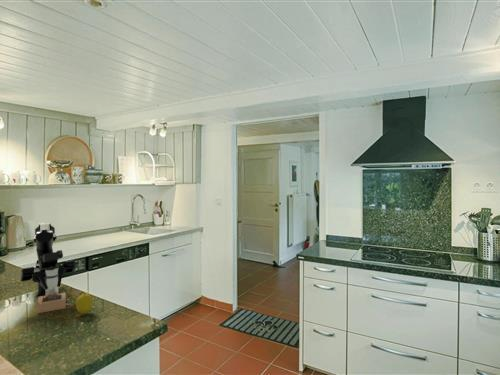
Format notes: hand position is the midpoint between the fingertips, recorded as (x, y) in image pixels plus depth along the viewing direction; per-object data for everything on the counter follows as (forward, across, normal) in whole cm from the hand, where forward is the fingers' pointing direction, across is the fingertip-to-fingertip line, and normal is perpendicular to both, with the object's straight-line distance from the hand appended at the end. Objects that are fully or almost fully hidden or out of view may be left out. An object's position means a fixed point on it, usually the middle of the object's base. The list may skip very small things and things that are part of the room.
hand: (52, 288), depth 123 cm
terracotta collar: (+5, 0, +6) cm, 8 cm away
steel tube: (+4, 0, +6) cm, 7 cm away
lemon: (+17, +7, -6) cm, 19 cm away
